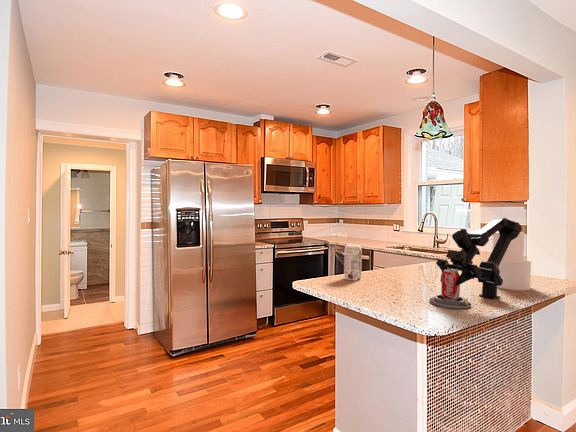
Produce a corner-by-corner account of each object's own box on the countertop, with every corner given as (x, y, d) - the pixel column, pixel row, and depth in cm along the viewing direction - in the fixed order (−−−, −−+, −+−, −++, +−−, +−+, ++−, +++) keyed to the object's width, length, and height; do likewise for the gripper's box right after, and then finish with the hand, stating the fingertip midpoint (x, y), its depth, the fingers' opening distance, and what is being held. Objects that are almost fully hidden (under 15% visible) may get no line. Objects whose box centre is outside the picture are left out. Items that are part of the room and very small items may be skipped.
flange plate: (445, 297, 161) (445, 288, 161) (479, 306, 148) (479, 296, 147) (421, 301, 153) (421, 292, 153) (454, 311, 140) (455, 301, 139)
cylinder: (483, 283, 191) (485, 231, 190) (507, 281, 197) (509, 231, 196) (512, 291, 175) (514, 234, 174) (538, 289, 180) (540, 234, 179)
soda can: (463, 300, 147) (463, 272, 147) (446, 301, 147) (447, 272, 146) (453, 296, 154) (454, 268, 154) (438, 296, 154) (438, 269, 153)
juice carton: (357, 281, 192) (357, 246, 191) (342, 279, 197) (343, 245, 196) (362, 279, 198) (363, 245, 198) (348, 277, 203) (348, 243, 202)
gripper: (439, 241, 160) (421, 267, 155) (478, 245, 143) (459, 275, 139) (450, 257, 164) (433, 283, 159) (489, 263, 147) (472, 293, 142)
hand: (448, 283), depth 150 cm, fingers closed on soda can, 7 cm apart
